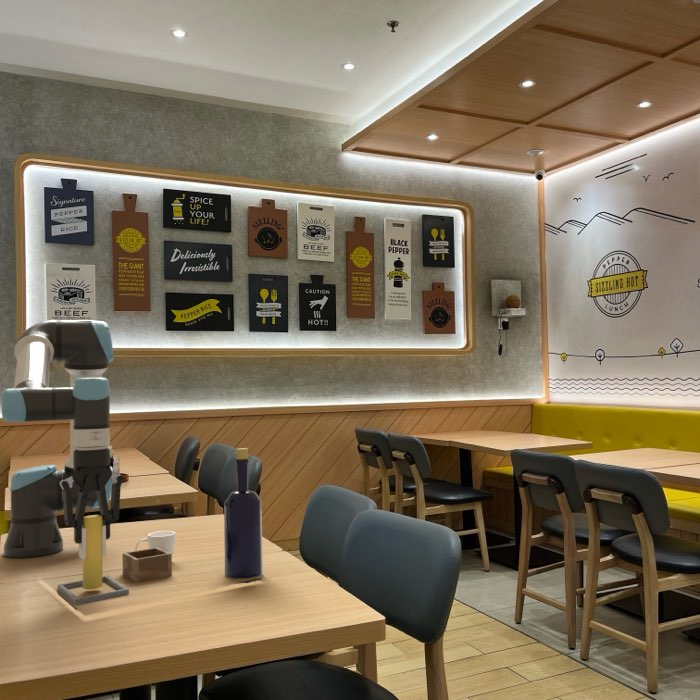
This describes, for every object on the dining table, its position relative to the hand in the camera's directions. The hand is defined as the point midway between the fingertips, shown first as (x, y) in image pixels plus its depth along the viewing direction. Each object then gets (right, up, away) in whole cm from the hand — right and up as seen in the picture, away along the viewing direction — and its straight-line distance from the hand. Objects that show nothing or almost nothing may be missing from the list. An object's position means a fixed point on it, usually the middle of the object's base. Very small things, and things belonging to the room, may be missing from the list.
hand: (92, 556), depth 152 cm
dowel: (0, -6, 0) cm, 6 cm away
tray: (0, -9, 0) cm, 9 cm away
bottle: (+31, -9, +12) cm, 34 cm away
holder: (+8, -9, +12) cm, 17 cm away
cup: (+7, -10, +24) cm, 26 cm away
